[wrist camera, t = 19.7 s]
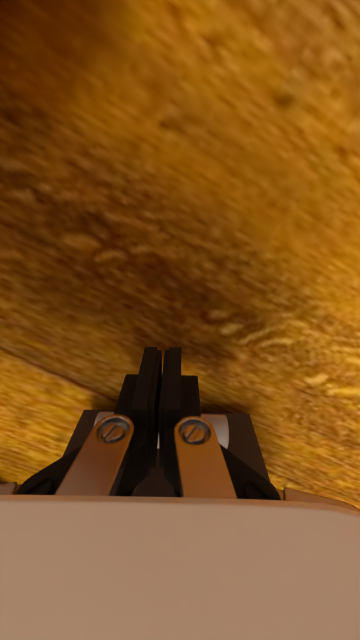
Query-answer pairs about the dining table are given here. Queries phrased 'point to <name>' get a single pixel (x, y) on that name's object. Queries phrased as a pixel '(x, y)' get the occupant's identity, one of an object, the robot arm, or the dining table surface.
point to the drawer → (228, 427)
